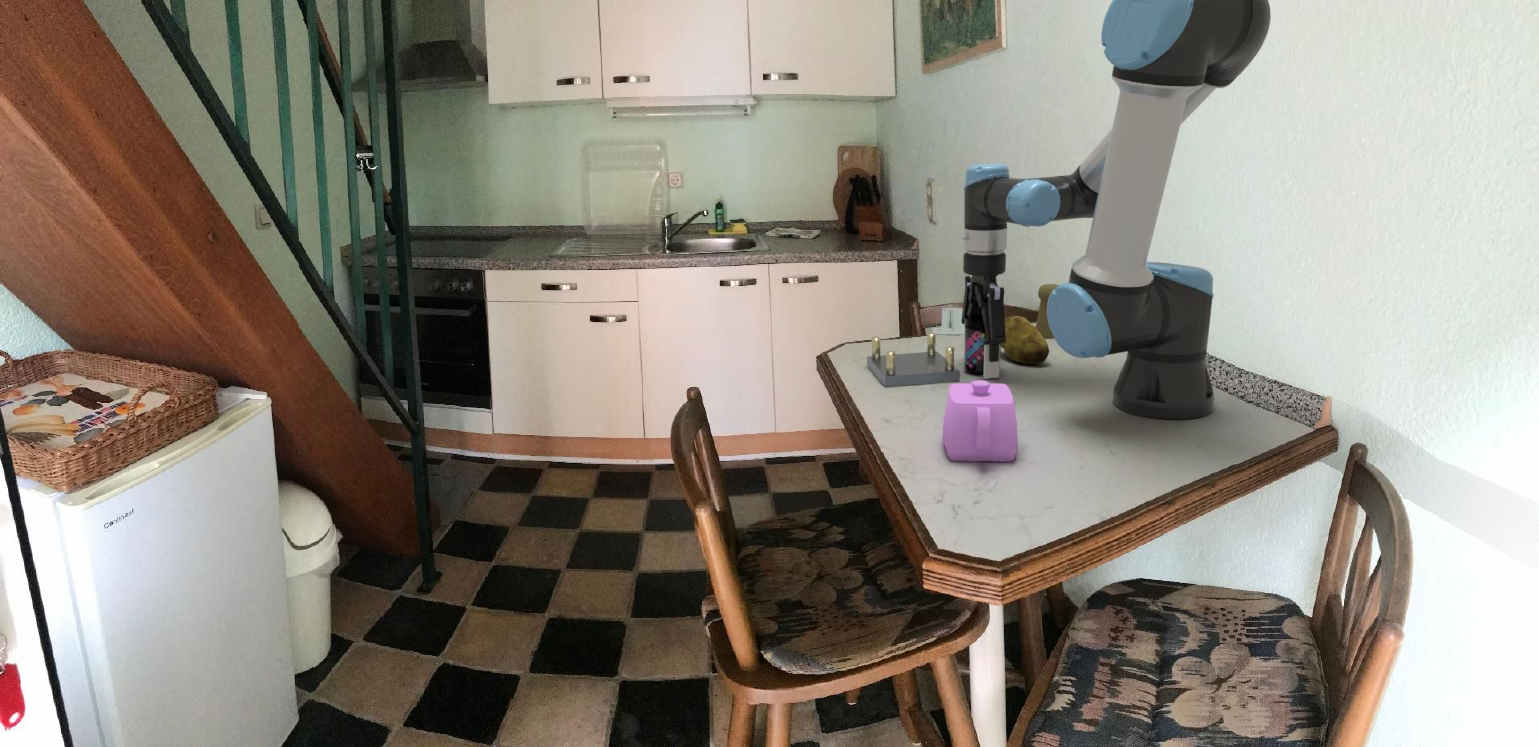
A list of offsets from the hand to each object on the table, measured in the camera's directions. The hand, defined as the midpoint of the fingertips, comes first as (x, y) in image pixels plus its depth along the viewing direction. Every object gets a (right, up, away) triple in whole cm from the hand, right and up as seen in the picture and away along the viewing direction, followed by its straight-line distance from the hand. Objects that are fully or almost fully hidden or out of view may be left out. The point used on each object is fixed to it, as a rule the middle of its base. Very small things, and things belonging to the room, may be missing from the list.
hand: (981, 370), depth 169 cm
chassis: (-13, -1, 0) cm, 13 cm away
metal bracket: (+4, +9, +32) cm, 34 cm away
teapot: (-9, -12, -37) cm, 40 cm away
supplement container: (0, 0, 0) cm, 0 cm away
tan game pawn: (+20, +7, +24) cm, 32 cm away
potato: (+9, +2, +7) cm, 12 cm away
